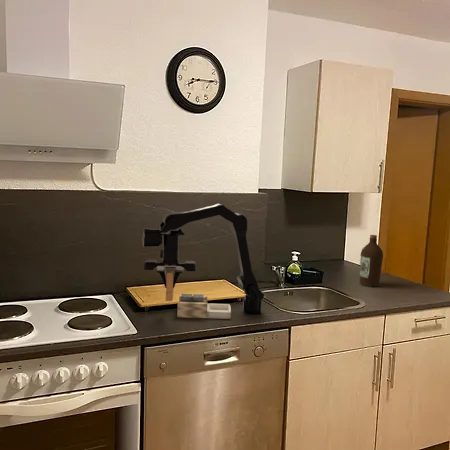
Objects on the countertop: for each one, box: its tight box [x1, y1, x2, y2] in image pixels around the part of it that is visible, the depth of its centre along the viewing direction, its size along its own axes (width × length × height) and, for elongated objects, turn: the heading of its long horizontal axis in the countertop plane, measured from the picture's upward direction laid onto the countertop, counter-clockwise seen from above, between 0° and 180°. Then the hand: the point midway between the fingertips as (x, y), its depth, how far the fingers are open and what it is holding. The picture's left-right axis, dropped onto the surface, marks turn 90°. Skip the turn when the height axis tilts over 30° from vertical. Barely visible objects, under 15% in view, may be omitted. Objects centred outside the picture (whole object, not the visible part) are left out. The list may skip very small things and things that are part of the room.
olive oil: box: [359, 234, 384, 287], centre depth 236 cm, size 11×11×25 cm
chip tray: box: [206, 302, 232, 320], centre depth 185 cm, size 9×10×2 cm
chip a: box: [192, 293, 205, 303], centre depth 184 cm, size 4×4×4 cm
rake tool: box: [165, 271, 175, 302], centre depth 178 cm, size 2×6×10 cm, turn 2°
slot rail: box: [176, 294, 209, 319], centre depth 184 cm, size 11×10×6 cm
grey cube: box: [181, 293, 193, 302], centre depth 184 cm, size 4×4×4 cm
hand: (169, 287), depth 179 cm, fingers closed on rake tool, 2 cm apart
